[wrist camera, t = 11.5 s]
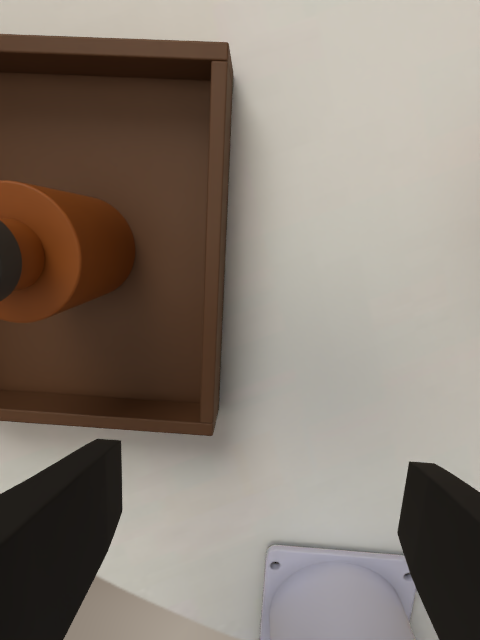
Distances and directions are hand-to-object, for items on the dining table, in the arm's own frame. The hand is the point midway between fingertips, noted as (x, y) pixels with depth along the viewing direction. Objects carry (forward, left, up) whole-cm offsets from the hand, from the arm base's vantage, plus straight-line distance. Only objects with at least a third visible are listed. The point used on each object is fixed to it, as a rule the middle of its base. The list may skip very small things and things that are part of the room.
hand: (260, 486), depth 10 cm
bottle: (+5, +8, -9) cm, 13 cm away
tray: (+5, +8, -9) cm, 13 cm away
